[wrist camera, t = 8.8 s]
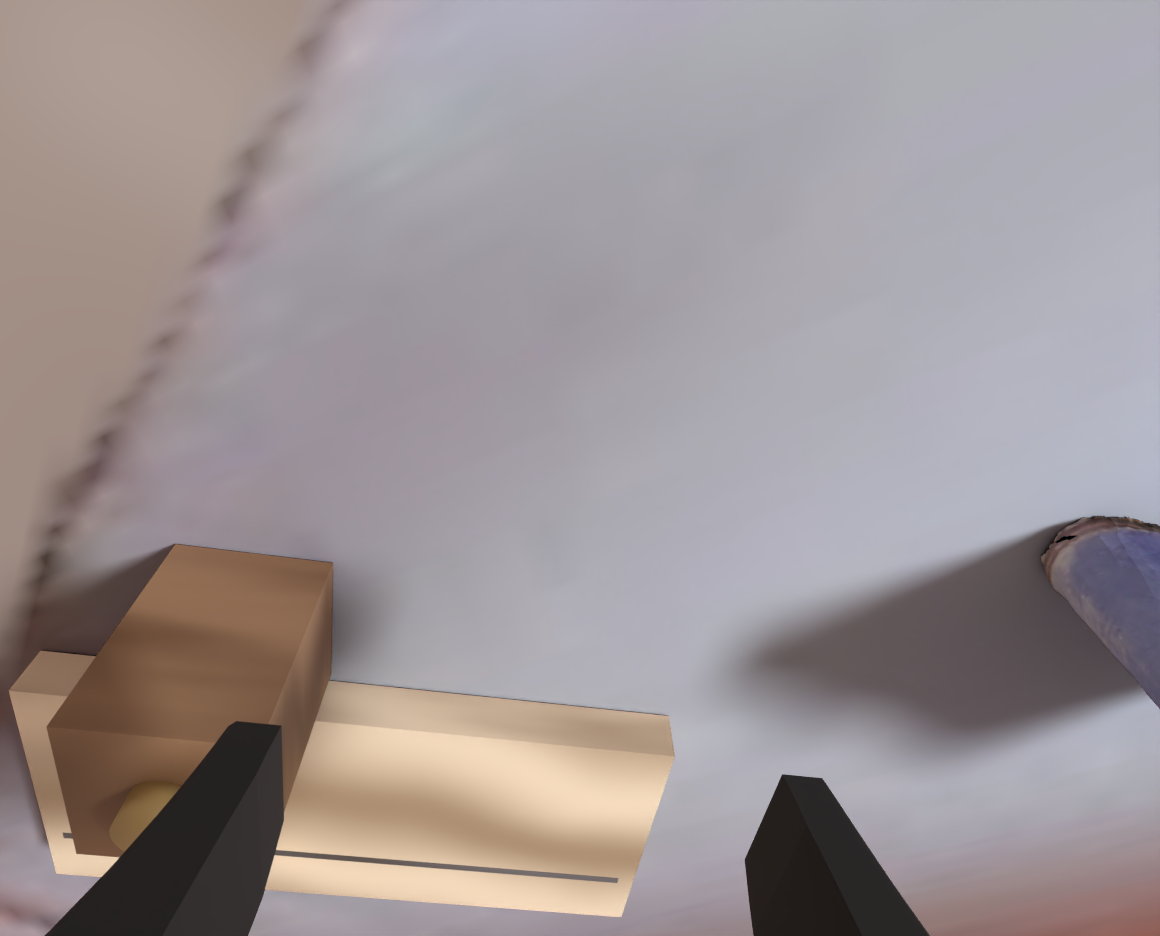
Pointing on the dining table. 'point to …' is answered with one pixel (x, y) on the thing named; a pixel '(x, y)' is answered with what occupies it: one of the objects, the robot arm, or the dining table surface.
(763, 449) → the dining table surface
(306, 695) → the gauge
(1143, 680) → the flask
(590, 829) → the board
